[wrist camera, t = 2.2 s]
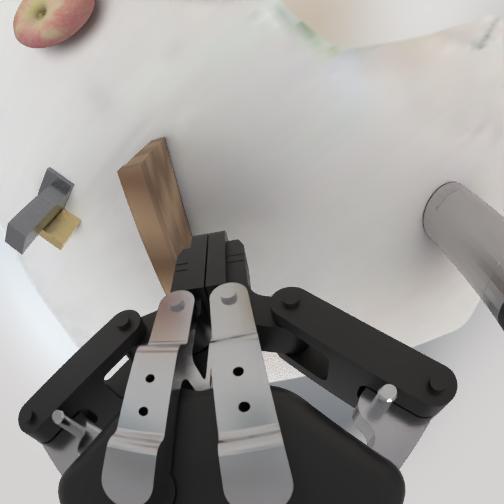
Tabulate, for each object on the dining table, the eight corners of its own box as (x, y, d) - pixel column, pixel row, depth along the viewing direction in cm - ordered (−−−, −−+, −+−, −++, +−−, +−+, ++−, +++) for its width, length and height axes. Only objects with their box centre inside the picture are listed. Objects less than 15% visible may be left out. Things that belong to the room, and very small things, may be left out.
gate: (214, 291, 36) (213, 351, 28) (196, 293, 36) (191, 354, 28) (170, 135, 24) (143, 164, 17) (147, 141, 24) (112, 173, 17)
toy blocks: (92, 197, 27) (50, 247, 19) (78, 226, 29) (40, 279, 21) (49, 167, 24) (-2, 207, 16) (38, 198, 26) (-7, 244, 18)
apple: (47, 60, 17) (0, 64, 11) (44, 5, 13) (0, -2, 6) (110, 31, 17) (71, 21, 11) (107, -26, 13) (72, -48, 6)
